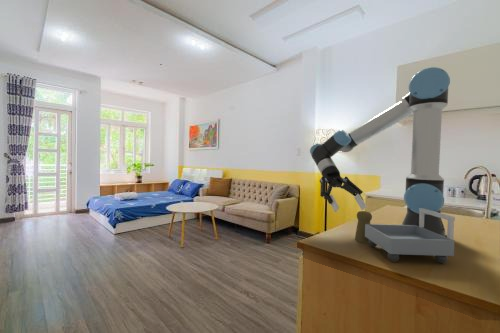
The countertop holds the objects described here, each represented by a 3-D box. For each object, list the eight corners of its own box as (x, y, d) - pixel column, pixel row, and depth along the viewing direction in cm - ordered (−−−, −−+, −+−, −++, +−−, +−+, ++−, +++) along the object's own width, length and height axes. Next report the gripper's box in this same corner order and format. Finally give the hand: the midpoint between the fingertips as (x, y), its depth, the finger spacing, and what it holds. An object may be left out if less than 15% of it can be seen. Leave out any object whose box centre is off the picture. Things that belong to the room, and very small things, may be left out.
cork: (374, 243, 85) (375, 213, 84) (356, 242, 86) (357, 212, 86) (369, 238, 91) (370, 210, 90) (353, 237, 92) (353, 209, 92)
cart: (418, 246, 83) (419, 207, 83) (457, 266, 67) (458, 218, 67) (364, 244, 83) (365, 205, 83) (390, 263, 67) (391, 216, 67)
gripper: (346, 175, 114) (369, 212, 100) (301, 175, 107) (320, 215, 93) (354, 165, 109) (380, 202, 95) (308, 164, 101) (329, 205, 88)
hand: (351, 209), depth 94 cm, fingers open, 13 cm apart
